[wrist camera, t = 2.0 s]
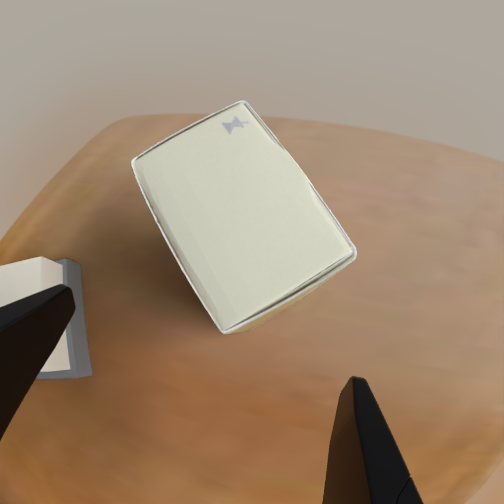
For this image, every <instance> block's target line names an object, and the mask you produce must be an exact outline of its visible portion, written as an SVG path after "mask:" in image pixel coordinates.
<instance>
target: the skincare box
mask: <svg viewBox="0 0 504 504" xmlns="http://www.w3.org/2000/svg"><path fill="white" fill-rule="evenodd" d="M131 167H132V170H133V172H134V175H135V177H136V180H137V182H138V185H139V187H140V190H141V192H142V194H143V196H144V199H145V201H146V203H147V205H148V208H149V210H150V212H151V214H152V216H153V218H154V220H155V222H156V224H157V226H158V228H159V229H160V231H161V233H162V235H163V237H164V239H165V241H166V243H167V244H168V246H169V248H170V250H171V252H172V254H173V256H174V257H175V259H176V261H177V263H178V264H179V266H180V268H181V270H182V271H183V273H184V275H185V276H186V278H187V280H188V282H189V283H190V285H191V287H192V288H193V290H194V291H195V293H196V295H197V296H198V298H199V300H200V301H201V303H202V305H203V306H204V308H205V309H206V311H207V312H208V314H209V315H210V317H211V319H212V320H213V322H214V323H215V325H216V326H217V328H218V329H219V331H220V332H221V333H222V334H234V333H243V332H249V331H251V330H252V329H254V328H256V327H258V326H260V325H261V324H263V323H265V322H267V321H268V320H270V319H272V318H274V317H275V316H277V315H279V314H280V313H282V312H284V311H285V310H287V309H289V308H290V307H292V306H293V305H295V304H296V303H298V302H300V301H301V300H302V299H304V298H305V297H307V296H308V295H309V294H310V293H312V292H313V291H314V290H316V289H317V288H318V287H320V286H321V285H322V284H323V283H325V282H326V281H327V280H329V279H330V278H331V277H333V276H334V275H335V274H337V273H338V272H339V271H340V270H342V269H343V268H344V267H346V266H347V265H348V264H350V263H351V262H352V261H354V260H355V258H356V256H357V252H356V248H355V246H354V245H353V243H352V242H351V240H350V239H349V237H348V236H347V234H346V233H345V231H344V230H343V228H342V227H341V225H340V224H339V222H338V221H337V219H336V218H335V216H334V215H333V213H332V212H331V211H330V209H329V208H328V206H327V205H326V203H325V202H324V201H323V199H322V198H321V196H320V195H319V194H318V192H317V191H316V190H315V188H314V186H313V185H312V184H311V182H310V181H309V179H308V178H307V176H306V175H305V174H304V172H303V171H302V170H301V168H300V167H299V165H298V164H297V163H296V162H295V160H294V159H293V158H292V157H291V156H290V154H289V153H288V152H287V151H286V150H285V148H284V147H283V146H282V145H281V143H280V142H279V141H278V140H277V138H276V137H275V136H274V134H273V133H272V132H271V131H270V129H269V128H268V127H267V126H266V125H265V123H264V122H263V121H262V120H261V118H260V117H259V116H258V115H257V114H256V113H255V111H254V110H253V109H252V108H251V107H250V105H249V104H248V103H247V102H246V101H244V100H241V101H238V102H236V103H234V104H232V105H230V106H228V107H226V108H224V109H222V110H220V111H217V112H215V113H213V114H211V115H209V116H207V117H205V118H203V119H201V120H199V121H197V122H195V123H193V124H191V125H189V126H187V127H185V128H183V129H181V130H180V131H178V132H176V133H174V134H172V135H171V136H169V137H167V138H165V139H164V140H162V141H160V142H159V143H157V144H155V145H154V146H152V147H151V148H149V149H148V150H146V151H145V152H143V153H142V154H140V155H138V156H137V157H135V158H134V159H132V161H131Z"/></svg>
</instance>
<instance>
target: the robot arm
mask: <svg viewBox="0 0 504 504" xmlns="http://www.w3.org/2000/svg"><path fill="white" fill-rule="evenodd" d="M75 309H76V304H75V300H74V296H73V291H72V289H71V288H70V287H69V286H66V285H64V284H58V285H56V286H53V287H50V288H48V289H45V290H43V291H40V292H37V293H35V294H32V295H30V296H27V297H25V298H22V299H20V300H17V301H15V302H12V303H10V304H7V305H5V306H2V307H0V440H1V438H2V437H3V434H4V433H5V431H6V429H7V427H8V425H9V423H10V422H11V420H12V418H13V416H14V414H15V413H16V411H17V409H18V407H19V406H20V404H21V402H22V400H23V399H24V397H25V395H26V394H27V392H28V390H29V389H30V387H31V385H32V384H33V382H34V380H35V379H36V377H37V376H38V374H39V372H40V371H41V369H42V368H43V366H44V365H45V363H46V361H47V360H48V358H49V357H50V355H51V354H52V352H53V351H54V349H55V347H56V346H57V344H58V342H59V340H60V338H61V336H62V335H63V333H64V331H65V329H66V327H67V325H68V323H69V322H70V320H71V318H72V316H73V314H74V313H75ZM322 504H424V503H423V501H422V499H421V497H420V495H419V493H418V491H417V488H416V486H415V484H414V482H413V479H412V477H410V473H409V471H408V468H407V466H406V464H405V462H404V459H403V457H402V455H401V453H400V450H399V448H398V446H397V444H396V442H395V440H394V437H393V435H392V433H391V431H390V429H389V427H388V425H387V422H386V420H385V418H384V416H383V414H382V412H381V410H380V408H379V406H378V403H377V401H376V399H375V397H374V395H373V393H372V391H371V389H370V387H369V385H368V383H367V381H366V380H365V379H364V378H361V377H356V376H352V377H351V378H350V379H349V380H348V382H347V384H346V385H345V387H344V388H343V390H342V391H341V393H340V396H339V401H338V406H337V411H336V416H335V421H334V425H333V430H332V435H331V440H330V445H329V454H328V463H327V472H326V480H325V488H324V495H323V502H322Z"/></svg>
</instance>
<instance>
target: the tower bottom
mask: <svg viewBox="0 0 504 504" xmlns="http://www.w3.org/2000/svg"><path fill="white" fill-rule="evenodd" d="M54 262H56V263H59V264H61V265H63V284H64V285H66V286H69V287H70V288H71V289H72V291H73V296H74V300H75V304H76V309H75V313H74V314H73V316H72V318H71V320H70V322H69V323H68V325H67V327H66V337H67V347H68V355H69V363H70V369H69V370H60V371H50V372H39V374H38V376H37V377H36V379H60V378H80V377H86V376H92V375H93V373H92V367H91V361H90V354H89V347H88V340H87V332H86V324H85V314H84V304H83V292H82V277H81V265H80V264H78V263H76V262H73V261H71V260H69V259H67V258H66V259H61V260H57V261H54Z"/></svg>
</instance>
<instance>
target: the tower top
mask: <svg viewBox="0 0 504 504" xmlns="http://www.w3.org/2000/svg"><path fill="white" fill-rule="evenodd" d="M58 284H63V265H61V264H59V263H56V262H54V261H51V260H49V259H46V258H44V257H42V256H40V257H36V258H32V259H28V260H23V261H19V262H15V263H11V264H7V265H3V266H0V307H2V306H5V305H7V304H10V303H12V302H15V301H17V300H20V299H22V298H25V297H27V296H30V295H32V294H35V293H37V292H40V291H43V290H45V289H48V288H50V287H53V286H56V285H58ZM69 369H70V363H69V355H68V347H67V337H66V329H65V331H64V333H63V335H62V336H61V338H60V340H59V342H58V344H57V346H56V347H55V349H54V351H53V352H52V354H51V355H50V357H49V358H48V360H47V361H46V363H45V365H44V366H43V368H42V369H41V371H40V372H50V371H60V370H69Z"/></svg>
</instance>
